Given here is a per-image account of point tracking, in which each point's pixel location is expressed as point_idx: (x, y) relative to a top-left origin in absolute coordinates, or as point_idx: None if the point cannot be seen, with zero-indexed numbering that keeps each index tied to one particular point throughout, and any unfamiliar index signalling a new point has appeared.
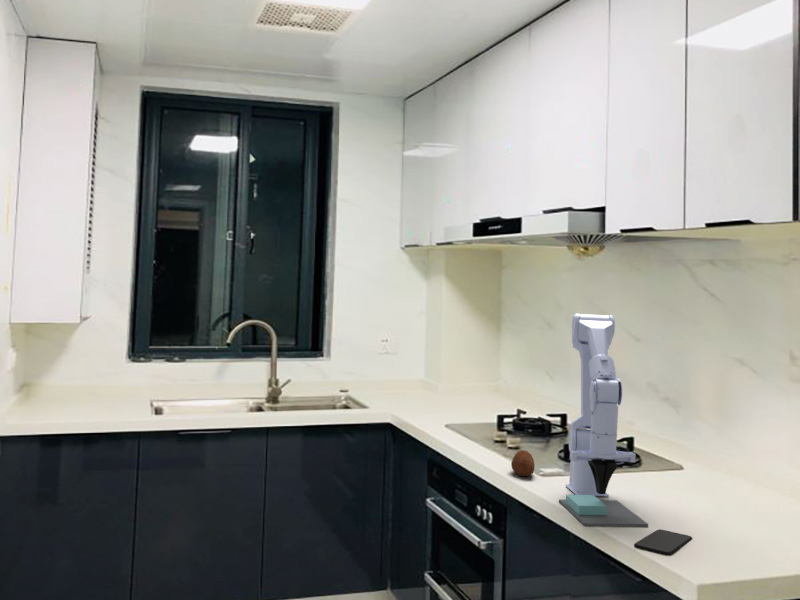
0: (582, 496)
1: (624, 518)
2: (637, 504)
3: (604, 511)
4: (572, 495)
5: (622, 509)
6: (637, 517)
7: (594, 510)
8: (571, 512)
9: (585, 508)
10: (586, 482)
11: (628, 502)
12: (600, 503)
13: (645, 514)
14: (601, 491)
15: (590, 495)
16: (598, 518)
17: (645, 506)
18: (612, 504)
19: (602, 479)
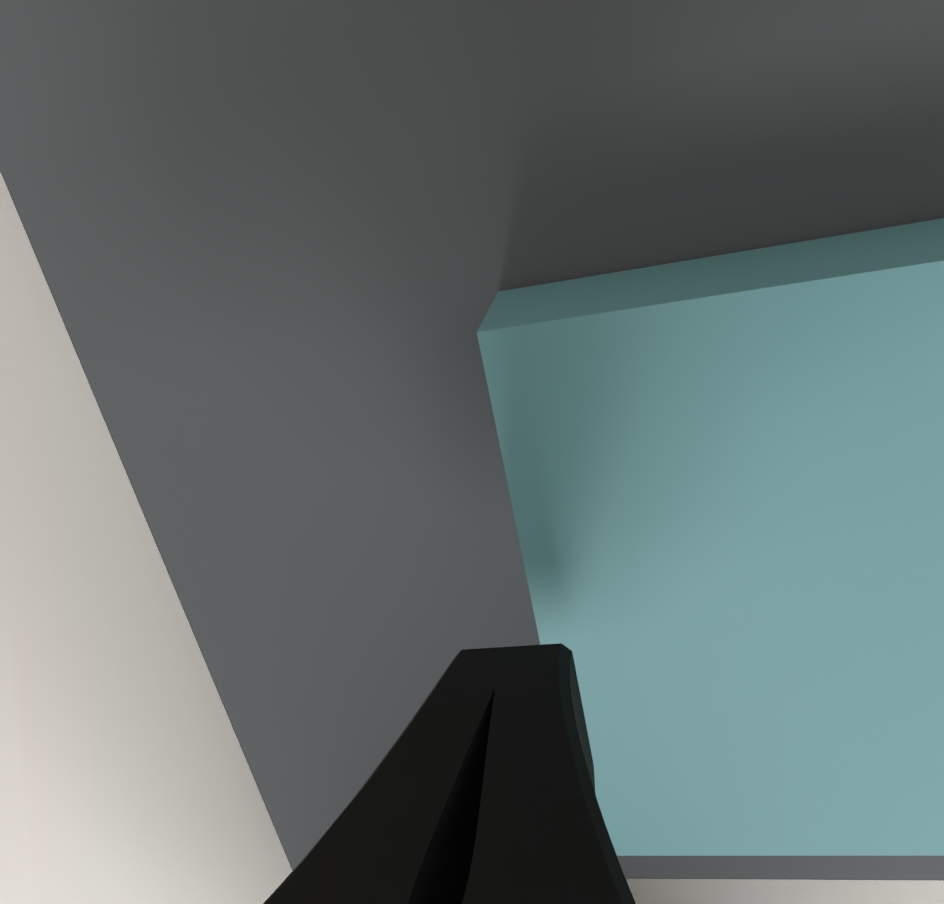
0: (772, 791)
1: (251, 191)
2: (115, 829)
3: (532, 301)
4: (927, 823)
5: (256, 598)
6: (77, 289)
7: (712, 278)
8: None
9: (908, 248)
10: None
11: (194, 874)
12: (568, 478)
13: (25, 540)
14: (528, 670)
15: (629, 838)
16: (677, 73)
17: (43, 782)
18: (354, 759)
19: (492, 882)
